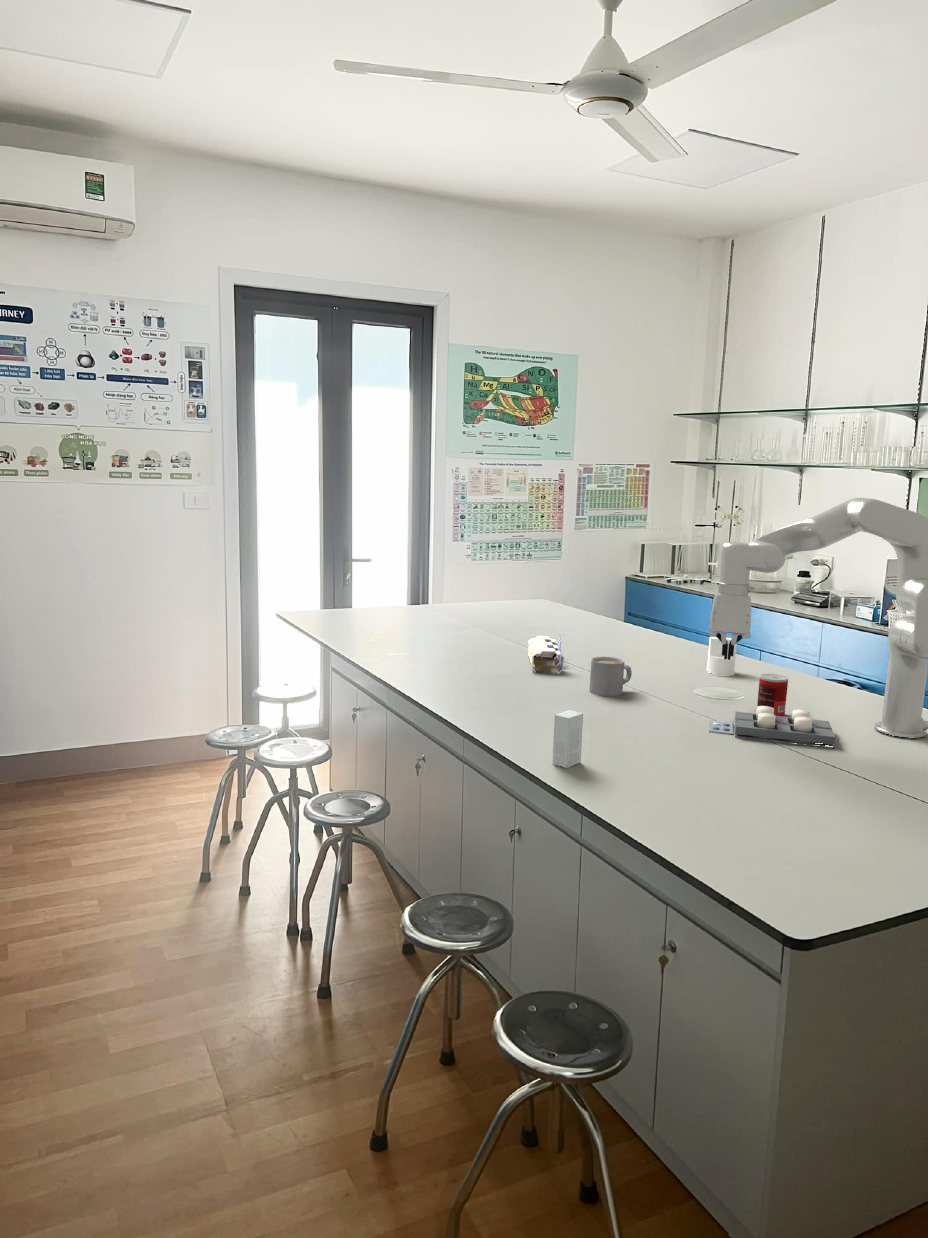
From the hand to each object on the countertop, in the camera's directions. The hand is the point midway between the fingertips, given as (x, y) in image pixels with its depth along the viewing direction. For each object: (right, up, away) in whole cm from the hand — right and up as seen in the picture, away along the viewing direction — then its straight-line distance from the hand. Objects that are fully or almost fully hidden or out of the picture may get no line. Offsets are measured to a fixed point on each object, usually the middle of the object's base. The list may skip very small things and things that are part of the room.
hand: (727, 658), depth 239 cm
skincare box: (-46, -23, -29) cm, 59 cm away
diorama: (-42, -6, +71) cm, 83 cm away
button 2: (+9, -17, -3) cm, 20 cm away
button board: (+11, -20, 0) cm, 23 cm away
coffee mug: (-24, -12, +38) cm, 46 cm away
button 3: (+20, -17, +1) cm, 26 cm away
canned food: (+18, -17, +19) cm, 31 cm away
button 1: (+11, -16, +3) cm, 20 cm away
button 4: (+18, -18, -6) cm, 26 cm away
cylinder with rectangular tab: (+17, -8, +68) cm, 71 cm away
